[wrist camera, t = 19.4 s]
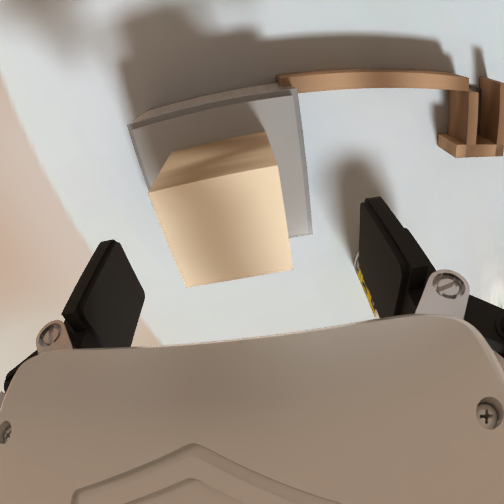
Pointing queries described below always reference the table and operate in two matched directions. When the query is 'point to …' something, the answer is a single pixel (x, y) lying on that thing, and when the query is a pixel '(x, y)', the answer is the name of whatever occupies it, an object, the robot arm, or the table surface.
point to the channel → (460, 94)
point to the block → (223, 210)
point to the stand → (229, 126)
